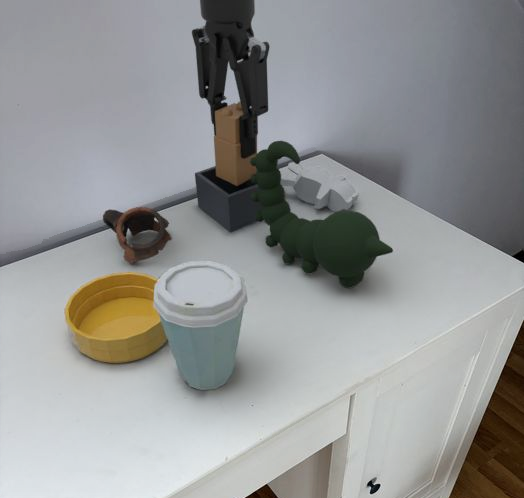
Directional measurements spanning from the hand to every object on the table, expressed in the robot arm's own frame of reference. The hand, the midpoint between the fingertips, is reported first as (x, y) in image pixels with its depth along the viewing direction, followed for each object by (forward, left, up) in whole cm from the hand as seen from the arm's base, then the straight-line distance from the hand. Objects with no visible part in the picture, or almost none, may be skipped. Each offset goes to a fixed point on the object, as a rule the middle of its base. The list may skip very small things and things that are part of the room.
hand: (235, 149), depth 93 cm
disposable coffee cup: (+25, -31, -11) cm, 41 cm away
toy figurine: (+21, -4, -11) cm, 24 cm away
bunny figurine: (+8, +12, -11) cm, 18 cm away
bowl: (+10, -33, -11) cm, 36 cm away
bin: (0, 0, -11) cm, 11 cm away
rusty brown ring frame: (-4, -19, -11) cm, 23 cm away
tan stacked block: (0, 0, -5) cm, 5 cm away
